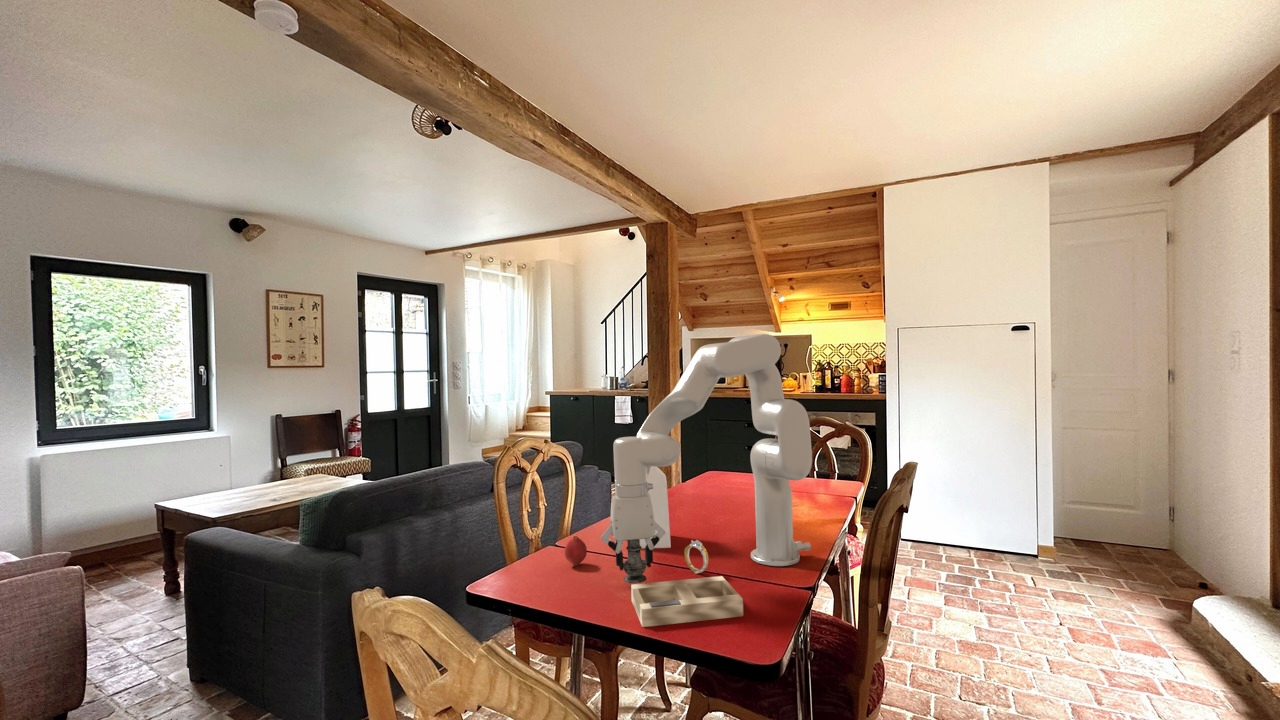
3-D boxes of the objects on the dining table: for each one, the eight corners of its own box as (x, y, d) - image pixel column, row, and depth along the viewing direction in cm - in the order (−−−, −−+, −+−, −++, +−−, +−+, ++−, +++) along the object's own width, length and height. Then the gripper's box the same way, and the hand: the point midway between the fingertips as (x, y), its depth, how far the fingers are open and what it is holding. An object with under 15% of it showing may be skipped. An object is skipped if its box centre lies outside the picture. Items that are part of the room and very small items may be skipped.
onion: (565, 562, 148) (564, 532, 148) (587, 561, 149) (586, 531, 149) (564, 570, 142) (563, 538, 143) (586, 568, 143) (586, 537, 143)
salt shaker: (645, 584, 127) (642, 531, 127) (620, 583, 128) (617, 531, 128) (649, 574, 133) (647, 524, 133) (625, 573, 134) (623, 524, 134)
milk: (670, 547, 158) (668, 456, 159) (630, 548, 159) (628, 457, 159) (669, 535, 170) (667, 450, 171) (631, 535, 171) (629, 451, 171)
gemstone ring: (711, 575, 136) (710, 542, 136) (701, 578, 134) (700, 545, 134) (691, 567, 142) (690, 536, 142) (682, 570, 140) (681, 539, 140)
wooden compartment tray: (722, 591, 126) (722, 575, 126) (743, 616, 113) (742, 597, 114) (631, 600, 122) (631, 583, 123) (642, 627, 110) (641, 608, 110)
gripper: (663, 483, 136) (666, 557, 136) (593, 489, 133) (596, 565, 133) (670, 490, 129) (674, 568, 128) (596, 496, 125) (599, 577, 125)
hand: (634, 566), depth 130 cm, fingers closed on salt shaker, 5 cm apart
